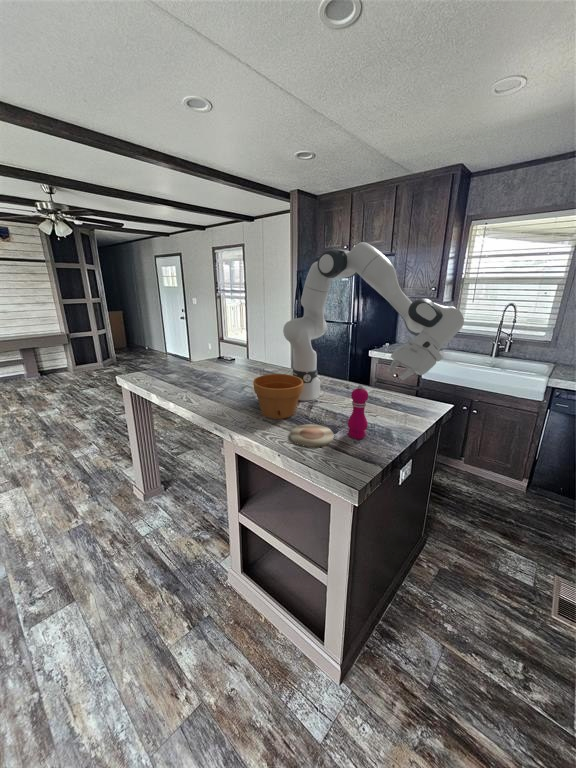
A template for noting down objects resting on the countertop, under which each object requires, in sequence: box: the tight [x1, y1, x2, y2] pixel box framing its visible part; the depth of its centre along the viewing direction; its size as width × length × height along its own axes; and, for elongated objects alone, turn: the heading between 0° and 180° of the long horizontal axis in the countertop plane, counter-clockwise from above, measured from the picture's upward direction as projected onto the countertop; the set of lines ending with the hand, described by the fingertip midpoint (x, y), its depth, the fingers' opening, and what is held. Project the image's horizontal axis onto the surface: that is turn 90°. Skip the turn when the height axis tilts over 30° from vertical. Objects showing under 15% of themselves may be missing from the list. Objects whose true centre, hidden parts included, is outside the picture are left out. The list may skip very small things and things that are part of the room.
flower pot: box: [252, 373, 303, 420], centre depth 138 cm, size 21×21×15 cm
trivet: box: [289, 423, 335, 448], centre depth 119 cm, size 16×16×1 cm
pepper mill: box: [347, 384, 369, 440], centre depth 117 cm, size 7×7×20 cm
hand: (394, 374), depth 115 cm, fingers open, 8 cm apart
